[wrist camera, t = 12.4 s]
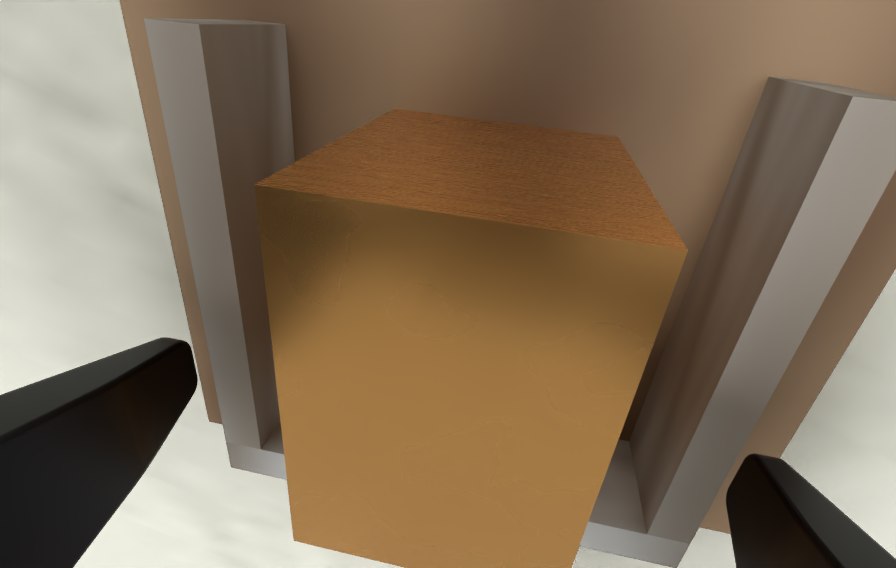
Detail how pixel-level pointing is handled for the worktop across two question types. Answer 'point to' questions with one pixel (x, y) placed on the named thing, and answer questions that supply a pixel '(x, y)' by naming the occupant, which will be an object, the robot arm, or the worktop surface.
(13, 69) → the worktop surface
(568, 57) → the bracket board
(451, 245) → the block
